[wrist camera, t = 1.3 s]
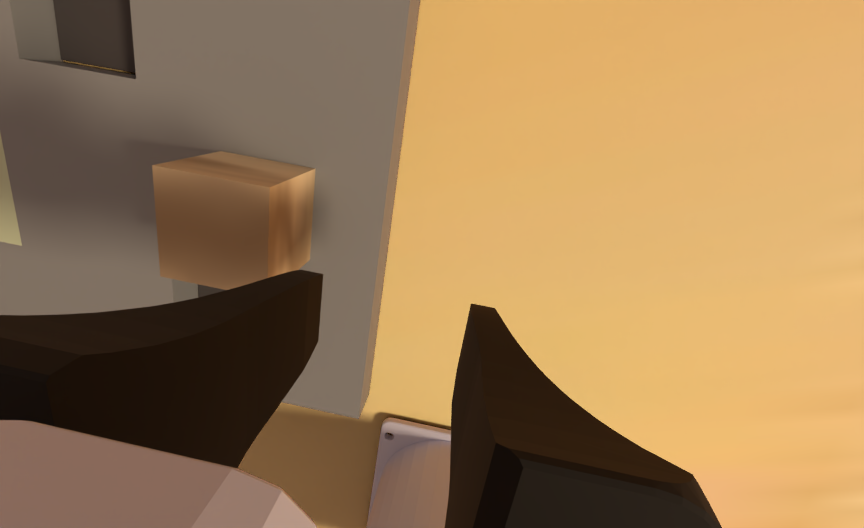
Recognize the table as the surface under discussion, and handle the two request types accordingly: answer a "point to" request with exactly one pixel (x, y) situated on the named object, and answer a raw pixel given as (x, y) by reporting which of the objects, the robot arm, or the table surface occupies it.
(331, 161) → the trap board
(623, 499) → the robot arm
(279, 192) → the maple block
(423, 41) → the table surface
